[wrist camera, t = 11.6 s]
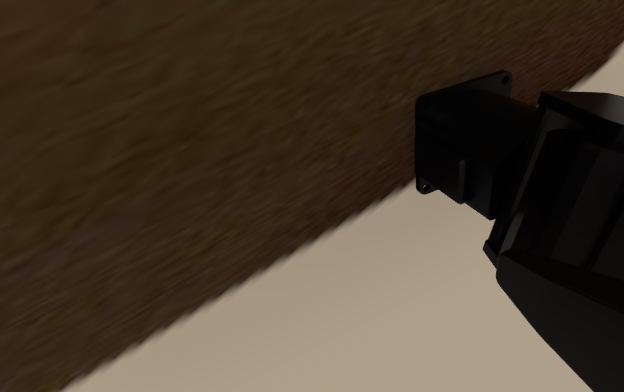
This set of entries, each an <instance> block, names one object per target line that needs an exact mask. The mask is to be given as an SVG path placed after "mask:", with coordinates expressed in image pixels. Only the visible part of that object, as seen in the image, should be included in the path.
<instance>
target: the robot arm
mask: <svg viewBox="0 0 624 392" xmlns="http://www.w3.org/2000/svg"><path fill="white" fill-rule="evenodd" d="M503 78H504V79H503ZM502 80H503V81H502ZM511 84H512V74H511V73H510V72H508V71H505V70H501V71H498V72H495V73H492V74H488V75H485V76H482V77H479V78H475V79H472V80H469V81H466V82H463V83H459V84H456V85H453V86H450V87H447V88H443V89H440V90H437V91H434V92H431V93H427V94H424V95H422V96H420V97H419V98H418V99H417V101H416V105H415V125H416V135H415V173H416V189H417V190H418V191H419V192H420V193H421V194H428V193H431V192H433V191H435V190H440V191H441V192H443V193H444V194H445V195H447V196H448V197H450V198H451V199H452V200H454V201H455V202H457V203H458V204H463V203H466V204H467V205H469V206H470V207H471V208H473V209H474V210H476V211H477V212H478V213H480V214H481V215H483V216H485V217H486V218H487V219H489V220H494V219H496V220H495V222H494V225H493V228H492V230H491V233H490V236H489V238H488V240H486V241H485V244H484V246H483V251H484V252H485V254H486V255H487V256H488V258H489V259H490V261H491V262H492V263H493V265H494V266H495V268H496V269H497V270H496V279H497V282H498V284H499V285H500V287H501V288H502V289H503V291H504V292H505V293H506V294H507V295H508V297H509V298H510V299H511V301H512V302H513V303H514V304H515V306H516V307H517V308H518V309H519V310H520V312H521V313H522V314H523V316H524V317H525V318H526V319H527V321H528V322H529V323H530V324H531V326H532V327H533V328H534V329H535V330H536V332H537V333H538V334H539V335H540V336H541V337H542V338H543V339H544V341H545V342H546V343H547V344H548V345H549V346H550V347H551V348H552V349H553V350H554V351H555V352H556V353H557V354H558V355H559V356H560V357H561V358H562V359H563V360H564V361H565V362H566V364H567V365H569V367H570V368H571V369H572V370H573V371H574V372H575V373H576V374H577V375H578V376H579V377H580V378H581V379H582V380H583V381H584V382H585V383H586V384H587V385H588V386H589V387H590V388H591V389H592V391H593V392H624V97H623V96H618V95H614V94H610V93H597V92H566V91H541V94H540V97H539V100H538V102H537V103H539V106H538V108H537V107H534V106H531V105H528V104H525V103H522V102H520V101H517V100H514V99H511V98H510V92H511ZM426 101H427V103H426V105H425V107H423V105H424V103H425V102H426ZM425 185H426V186H425ZM424 186H425V187H424ZM423 187H424V188H423Z"/></svg>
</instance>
